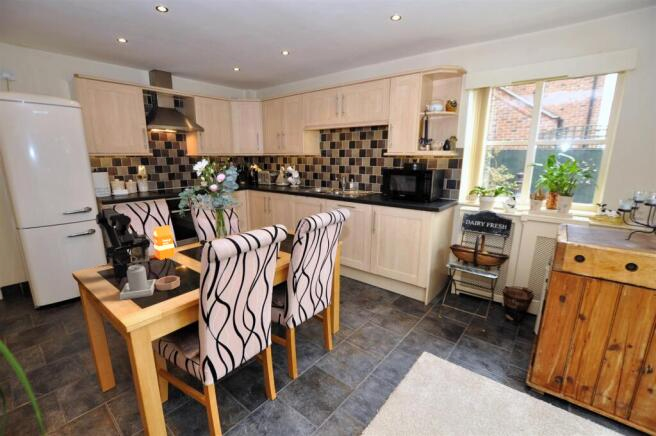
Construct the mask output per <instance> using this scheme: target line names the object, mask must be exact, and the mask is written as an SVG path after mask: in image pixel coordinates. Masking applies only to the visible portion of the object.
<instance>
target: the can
mask: <svg viewBox="0 0 656 436" xmlns="http://www.w3.org/2000/svg"><path fill="white" fill-rule="evenodd" d="M146 272H147V271H146V267H145V266H144V265H143V264H134V265H133V264H132V265H130V267H128V270H127V276H126V277H127V283H129V289H130V291H131V292H134V291H141V290H146V289H147V287H148V284H147V280H148V278H147V273H146Z"/></svg>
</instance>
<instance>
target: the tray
mask: <svg viewBox="0 0 656 436" xmlns="http://www.w3.org/2000/svg"><path fill="white" fill-rule="evenodd" d="M156 280H157V279H155V278H154V279H147V284H148V287H147V289H146V290H141V291H134V292H131V291H130V289H129V283H128V282H126V284H125V285H124V287H123V288H122V290H121V292H120V293H119V299H120V301H125V300H132V299H138V298H146V297H152V296H153V294H154V292H155V291H156V286H155V282H156Z"/></svg>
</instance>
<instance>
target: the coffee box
mask: <svg viewBox="0 0 656 436" xmlns="http://www.w3.org/2000/svg"><path fill="white" fill-rule="evenodd" d="M143 239H148V235H147V233H143V234H138V238H135V240H134V241H135V243H134V244H137V243H140V240H143ZM140 250H141V249H140V247H137V248H132V249H129V252H130V255H131V263H132V264H140V263H145V262H146V263H147V262H149V261H150V251H149V248H147V250H145V260H144V259H143V257H142V254H141V251H140Z"/></svg>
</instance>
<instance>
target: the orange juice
mask: <svg viewBox="0 0 656 436" xmlns="http://www.w3.org/2000/svg"><path fill="white" fill-rule="evenodd" d="M152 240H153V247H154V254H155V258H157V259H158V260H160V261H162V260H166V259H168V258H169V257H170V258H173V257H172V256H174V257H175V246H174V238H173V232H172V231H171V228H170V226H169V224H168V225H162V226H156V227H154V229H153V234H152ZM165 258H166V259H165Z"/></svg>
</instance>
